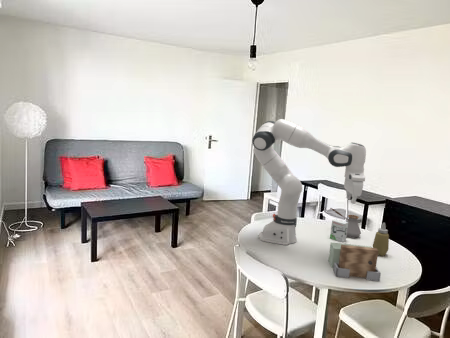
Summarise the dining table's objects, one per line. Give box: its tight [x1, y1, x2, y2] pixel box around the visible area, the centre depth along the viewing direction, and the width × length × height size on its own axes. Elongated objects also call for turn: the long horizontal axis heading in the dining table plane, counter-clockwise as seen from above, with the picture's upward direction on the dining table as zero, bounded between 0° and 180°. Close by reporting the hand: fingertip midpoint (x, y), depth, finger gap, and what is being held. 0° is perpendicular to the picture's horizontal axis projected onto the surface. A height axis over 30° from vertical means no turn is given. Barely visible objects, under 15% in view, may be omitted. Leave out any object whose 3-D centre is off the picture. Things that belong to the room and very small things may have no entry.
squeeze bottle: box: [372, 222, 390, 257], centre depth 182 cm, size 8×8×18 cm
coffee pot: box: [329, 207, 362, 239], centre depth 212 cm, size 21×12×15 cm, turn 50°
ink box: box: [329, 218, 348, 243], centre depth 202 cm, size 9×5×12 cm, turn 48°
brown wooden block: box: [338, 245, 379, 279], centre depth 155 cm, size 16×4×14 cm, turn 84°
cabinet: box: [327, 242, 382, 282], centre depth 161 cm, size 17×20×10 cm
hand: (350, 200), depth 171 cm, fingers open, 8 cm apart
